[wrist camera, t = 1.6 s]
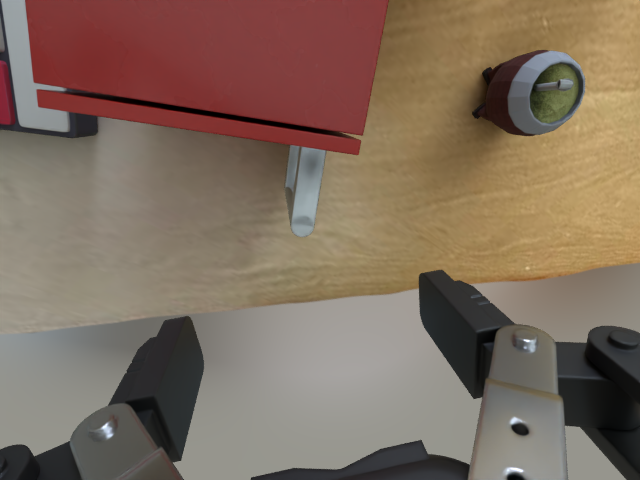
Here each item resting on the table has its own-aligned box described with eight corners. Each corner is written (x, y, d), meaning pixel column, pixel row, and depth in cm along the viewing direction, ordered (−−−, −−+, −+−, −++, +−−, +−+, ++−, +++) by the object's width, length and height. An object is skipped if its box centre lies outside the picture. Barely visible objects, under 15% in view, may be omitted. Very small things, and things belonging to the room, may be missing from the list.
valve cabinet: (319, 121, 35) (363, 135, 19) (152, 93, 32) (32, 82, 16) (339, -8, 31) (413, -129, 15) (152, -52, 29) (-3, -257, 12)
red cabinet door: (308, 194, 37) (338, 260, 21) (151, 174, 35) (50, 233, 19) (319, 124, 35) (361, 140, 19) (151, 96, 32) (35, 88, 16)
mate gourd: (540, 102, 37) (701, 101, 23) (478, 150, 38) (597, 176, 24) (511, 38, 35) (672, -7, 21) (444, 91, 36) (556, 82, 22)
